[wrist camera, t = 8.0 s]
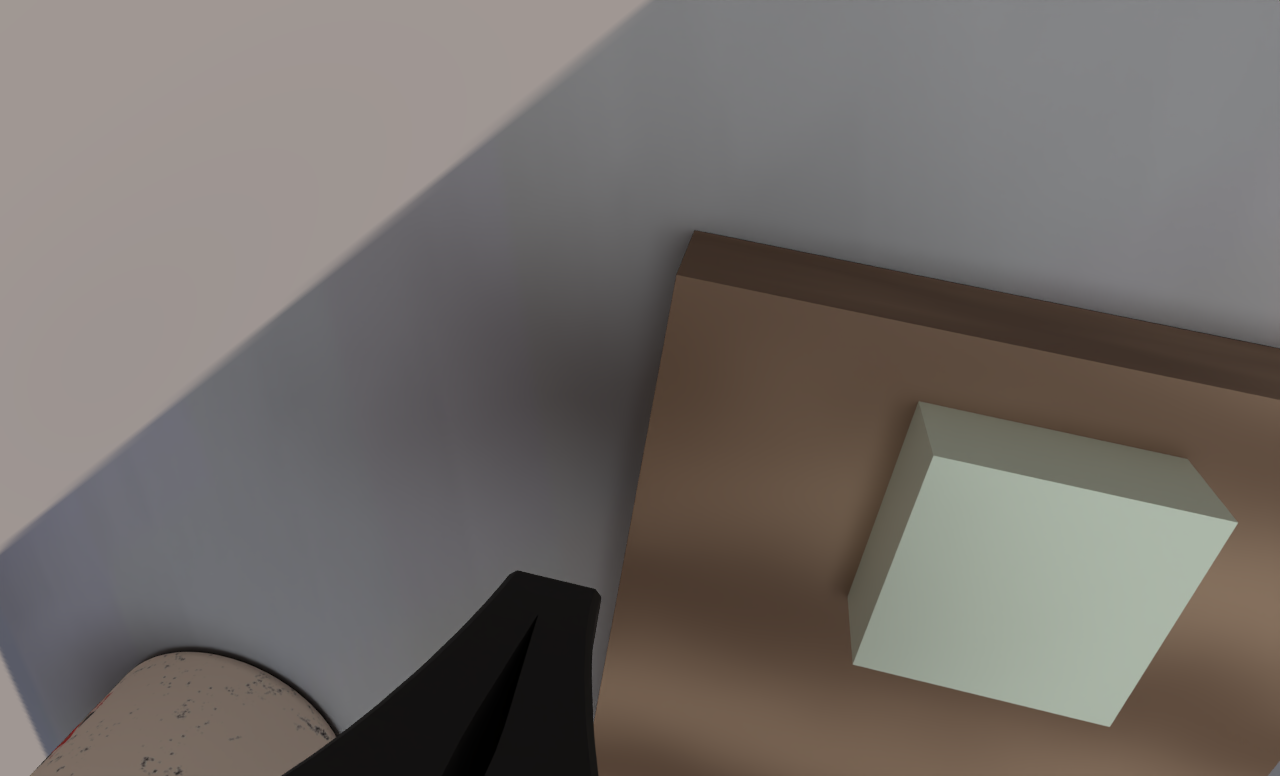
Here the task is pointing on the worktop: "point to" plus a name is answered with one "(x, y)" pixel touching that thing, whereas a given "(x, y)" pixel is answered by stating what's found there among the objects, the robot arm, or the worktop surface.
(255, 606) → the worktop surface
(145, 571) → the worktop surface
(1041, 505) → the sage tile
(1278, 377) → the walnut plate
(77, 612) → the worktop surface
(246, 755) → the cream lidded canister
